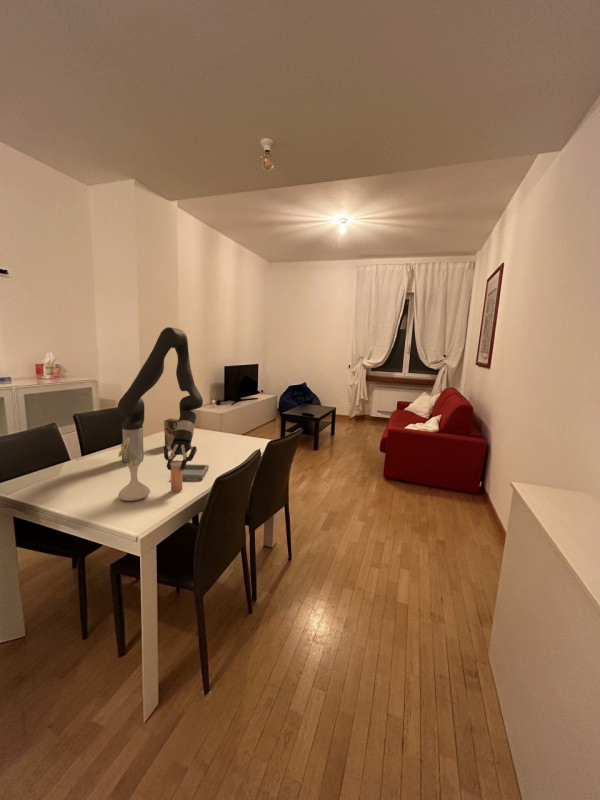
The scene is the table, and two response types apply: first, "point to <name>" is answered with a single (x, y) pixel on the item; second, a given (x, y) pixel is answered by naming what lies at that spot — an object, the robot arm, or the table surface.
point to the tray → (194, 471)
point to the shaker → (176, 476)
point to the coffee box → (170, 430)
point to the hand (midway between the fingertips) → (175, 469)
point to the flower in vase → (132, 479)
